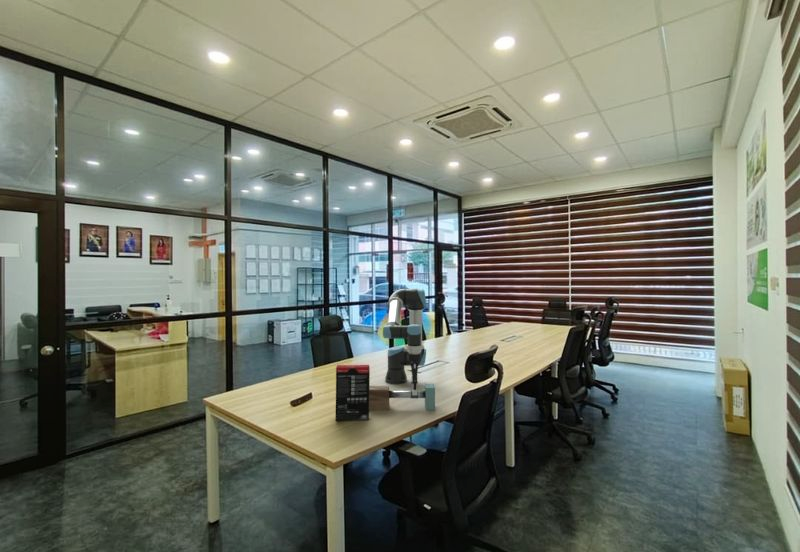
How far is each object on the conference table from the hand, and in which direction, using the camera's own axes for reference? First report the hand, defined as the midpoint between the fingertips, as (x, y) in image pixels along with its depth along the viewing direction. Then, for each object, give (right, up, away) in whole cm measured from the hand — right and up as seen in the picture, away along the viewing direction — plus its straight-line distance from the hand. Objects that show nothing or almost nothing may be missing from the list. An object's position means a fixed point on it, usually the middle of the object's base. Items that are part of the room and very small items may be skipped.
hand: (414, 390), depth 202 cm
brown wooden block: (-20, -9, 0) cm, 22 cm away
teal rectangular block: (+8, -9, -1) cm, 12 cm away
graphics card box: (-32, -9, -16) cm, 37 cm away
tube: (-3, -4, -1) cm, 5 cm away
